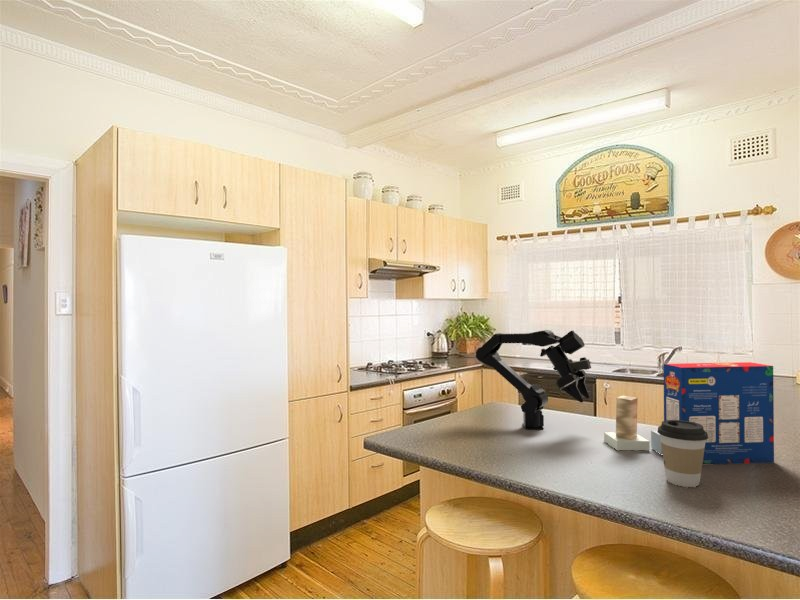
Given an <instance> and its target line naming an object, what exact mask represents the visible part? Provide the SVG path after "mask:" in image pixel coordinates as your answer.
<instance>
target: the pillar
mask: <svg viewBox="0 0 800 600" xmlns="http://www.w3.org/2000/svg"><path fill="white" fill-rule="evenodd" d="M615 404H616V405H615V406H616V408H615V409H616V410H615V411H616V413H615V432H616V437H621V438H625V439H630V440H631V439H633V438H635V437H637V434H638V397H635V396H628V395H620V396H617V397H616V403H615Z"/></svg>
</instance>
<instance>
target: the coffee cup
mask: <svg viewBox="0 0 800 600" xmlns="http://www.w3.org/2000/svg"><path fill="white" fill-rule="evenodd" d="M656 431H657V432H658V433H659V434H660V440H661V447H662V453H663V456H662V460H663V465H664V466H663V467H664V472H665V477H666V481H667V480H668V481H669V482H670V483H669V482H668V481H667V482H668V483H669V484H671V483H673V484H672V485H674V484H676V485H675V486H677V485H678V486H677V487H680V486H683V487H682V488H688V487H694V488H697V487H696V486H698V485H699V486H700V483H701V477H702V471H703V470H702V469H703V465H702V463H703V456H704V449H705V442H706V440H707V439H708V434H707V432H706V431H704V428H703V426H702V425H700V424H698V423H694V422H690V421H683V420H665V421H664V420H662V421H661V425H659V426H657V429H656ZM699 486H698V487H699Z"/></svg>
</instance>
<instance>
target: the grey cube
mask: <svg viewBox="0 0 800 600" xmlns="http://www.w3.org/2000/svg"><path fill="white" fill-rule="evenodd" d="M651 448H652V449H654V450H655V451H657V452H659V453H660V454H663V453H662V447H661V440H660V434H659V433H658V432H657V430H651V431H650V449H651ZM652 449H651V450H652ZM655 451H654V452H655ZM657 452H656V453H657ZM660 454H659V455H660Z"/></svg>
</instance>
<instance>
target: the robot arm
mask: <svg viewBox="0 0 800 600" xmlns="http://www.w3.org/2000/svg"><path fill="white" fill-rule="evenodd" d="M503 344H527V345H528V344H529V345H532V346H537V347H542V348H541V350H540V354H539V356H540V357H545V356H546V357H547V358H548V359H549V361H550V363H551V364H552V365H553V368H552V369H553V371H556V372H557V373H558V375H559V377H560V378H559V379H557V380H556V386H557V387H558V389H559V390H560V389H561V391H564V392H565V393H566V394H568V395H570V397H572V398H573V399H575V400H576V401H578V402H579V403H581V404H582V403H584V402H585V400H584V398H586V399H590V397H591V395H590V393H589V391H588V388H587V384H586V380H587V379H586V378H587V373H586V371H585V370H587V371H588V370H589V369H592V366H591V363H592V362H591V361H590V359H587V357H585V356H583V357H580V358H579V360H578V361H573V359H571V358H569V357H568V356H567V355H566V354H568V355H572V354H574V353H575V352H578V351H579V350H581V349H582V348H584V347H586V346H585V342H584V340H583V339H582V336H579V335H578V334H577V333H576V332H575V331H574V330H570V331H569V332H567V333H566V334H564V335H563V336H559V335H556V334H555V333H554V331H552V330H549V329H545V330H538V331H533V332H527V333H524V332H522V333H501V332H498V333H494V334H493V335H492V336H491V337H490V338H489V339H488V340H487V341H486V342H484V344H483V345H482V346H480V347H478V348H477V349H476V351H475V358H476V359H477V360H478V362H480V363H482V364H484V365H485V366H487V367H490V368H492V369H493V370H495V371H496V372H497V373H498V374H499V375H500V376H501V377H502V378H503V379H504V380H505V381H507V382H508V383H509V384H510V385H512V386H513V387H514V388H515V389H516V390H517V391H518V392H520V394H521V396H522V399H523V400H524V403H522V405H520V409H521V411H522V413H523V414H522V415H523V416H522V417H523V418H522V419H523V420H522V421H523V423H522V426H523V428H524V429H526V430H544V429H545V428H544V426H545V425H544V424H545V422H544V420H545V418H544V417H545V415H543V409H544V407H545V406H546V405H547V404H548V402H549V396H548V394H547V393H546V390H545V389H543V388H542V387H541V386H540V385H539V384H538V383H536V384H530V383H529V382H528V381H526V380H525V379H524V378H523V377H522V376H520V375H519V374H518V373H517V372H516V371H515V370H514V369H513V368H511V366H509V365H508V363H506V362H505V361H504V360H502V358H501V355H500V353H498V351H499V350H500V348H501V346H502V345H503ZM556 344H557V345H556ZM547 346H548V347H547ZM544 347H546V348H544ZM583 397H584V398H583Z"/></svg>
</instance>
